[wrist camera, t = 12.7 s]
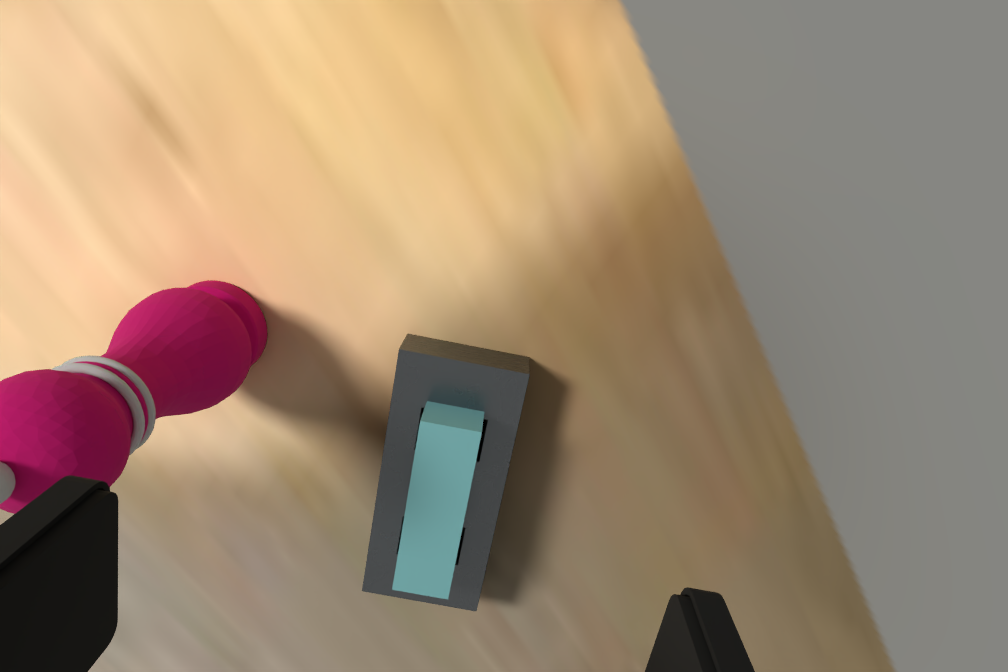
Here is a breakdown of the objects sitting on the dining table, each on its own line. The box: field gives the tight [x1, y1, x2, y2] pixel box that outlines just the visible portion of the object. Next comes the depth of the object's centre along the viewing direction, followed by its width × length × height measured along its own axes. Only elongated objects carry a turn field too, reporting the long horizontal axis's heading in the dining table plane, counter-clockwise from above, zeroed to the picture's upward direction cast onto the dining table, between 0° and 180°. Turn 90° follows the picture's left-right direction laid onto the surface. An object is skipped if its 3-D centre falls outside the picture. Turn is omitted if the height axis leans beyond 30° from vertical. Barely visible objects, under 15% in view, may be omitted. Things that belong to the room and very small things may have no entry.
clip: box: [392, 401, 484, 599], centre depth 41 cm, size 12×4×6 cm, turn 169°
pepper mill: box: [0, 281, 267, 514], centre depth 32 cm, size 7×7×20 cm
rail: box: [362, 334, 530, 611], centre depth 43 cm, size 18×8×3 cm, turn 169°
